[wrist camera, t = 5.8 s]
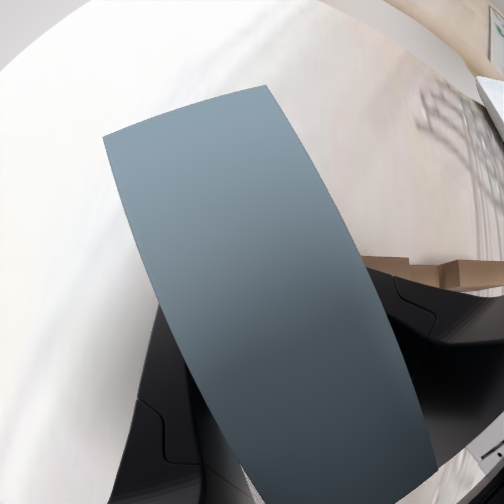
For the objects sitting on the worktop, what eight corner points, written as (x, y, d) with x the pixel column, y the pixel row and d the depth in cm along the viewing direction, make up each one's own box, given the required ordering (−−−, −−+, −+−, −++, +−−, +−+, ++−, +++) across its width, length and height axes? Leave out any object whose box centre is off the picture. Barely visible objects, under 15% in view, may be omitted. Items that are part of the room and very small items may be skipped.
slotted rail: (474, 291, 26) (511, 284, 21) (282, 295, 23) (303, 288, 18) (473, 271, 26) (509, 261, 21) (282, 267, 23) (303, 253, 18)
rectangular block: (291, 383, 15) (438, 469, 4) (236, 409, 14) (302, 555, 4) (224, 237, 16) (266, 85, 5) (168, 260, 15) (102, 137, 5)
